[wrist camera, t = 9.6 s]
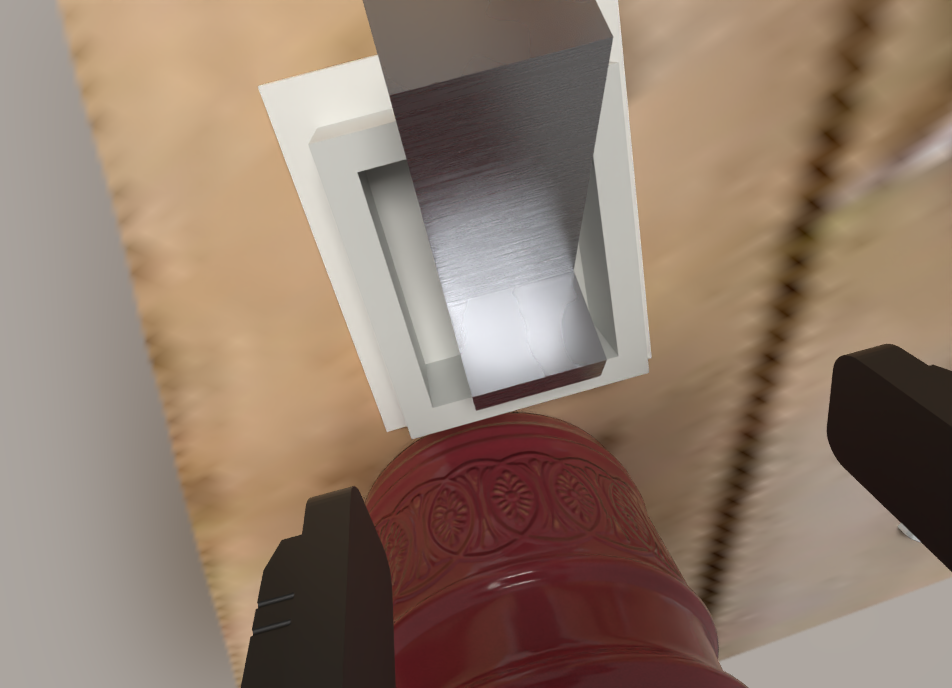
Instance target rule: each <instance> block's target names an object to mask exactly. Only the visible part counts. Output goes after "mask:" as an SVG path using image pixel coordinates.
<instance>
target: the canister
mask: <svg viewBox="0 0 952 688" xmlns="http://www.w3.org/2000/svg"><path fill="white" fill-rule="evenodd" d="M365 505H366V508H367V510H368V512H369V515H370V517H371V519H372V522H373V524H374V526H375V529H376V531H377V533H378V536H379V538H380V540H381V543H382V545H383V547H384V550H385V553H386V556H387V560H388V564H389V568H390V574H391V580H392V595H393V624H394V652H395V680H396V688H748V687H747V686H746V685H745V684H743V683H742V682H741V681H739V680H738V679H736V678H735V677H733V676H732V675H730V674H728V673H726V672H724V671H723V670H722V668H721V665H720V663H719V661H718V653H719V645H718V636H717V631H716V627H715V624H714V621H713V619H712V617H711V614H710V612H709V610H708V609H707V607H706V606H705V604H704V603H703V601H702V600H701V599H700V598H699V597H698V596H697V594H696V593H695V592H694V591H693V590H691V589H690V588H689V587H688V585H687V583H686V582H685V580H684V578H683V576H682V575H681V573H680V571H679V569H678V568H677V566H676V564H675V562H674V561H673V559H672V557H671V555H670V554H669V552H668V550H667V548H666V546H665V545H664V543H663V541H662V539H661V538H660V536H659V534H658V532H657V531H656V529H655V527H654V525H653V524H652V522H651V520H650V518H649V517H648V515H647V511H646V507H645V504H644V501H643V499H642V496H641V494H640V492H639V490H638V489H637V487H636V485H635V484H634V482H633V481H632V479H631V477H630V475H629V474H628V472H627V471H626V469H625V468H624V467H623V466H622V464H621V463H620V462H619V461H618V460H617V459H616V458H615V457H614V456H613V455H612V454H611V453H609V452H608V451H607V450H606V449H605V448H604V447H603V446H602V445H601V444H600V443H599V442H598V441H597V440H596V439H595V438H593V437H592V436H591V435H589V434H588V433H586V432H585V431H583V430H581V429H580V428H578V427H576V426H574V425H572V424H569V423H567V422H564V421H561V420H559V419H555V418H552V417H548V416H543V415H537V414H529V413H504V414H500V415H497V416H493V417H489V418H486V419H482V420H479V421H475V422H472V423H468V424H465V425H461V426H457V427H454V428H450V429H447V430H443V431H440V432H436V433H432V434H429V435H426V436H425V437H423V438H421V439H420V440H418V441H416V442H415V443H414V444H412V445H411V446H409V447H408V448H407V449H405V450H404V451H403V452H402V453H400V454H399V455H398V456H397V457H396V458H395V459H394V460H393V461H392V462H391V463H390V464H389V465H388V466H387V467H386V468H385V469H384V471H383V472H382V473H381V474H380V476H379V477H378V478H377V480H376V482H375V483H374V485H373V486H372V488H371V490H370V492H369V494H368V496H367V498H366V501H365Z"/></svg>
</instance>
